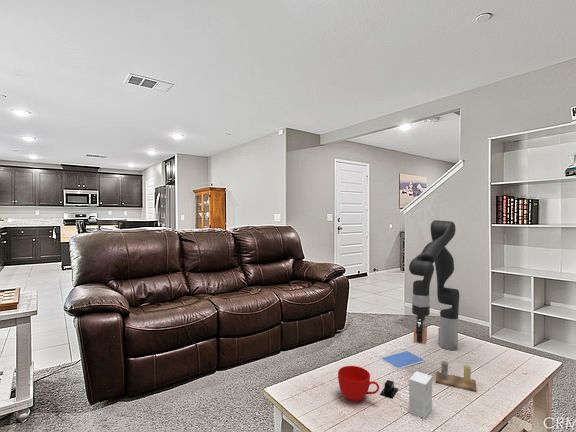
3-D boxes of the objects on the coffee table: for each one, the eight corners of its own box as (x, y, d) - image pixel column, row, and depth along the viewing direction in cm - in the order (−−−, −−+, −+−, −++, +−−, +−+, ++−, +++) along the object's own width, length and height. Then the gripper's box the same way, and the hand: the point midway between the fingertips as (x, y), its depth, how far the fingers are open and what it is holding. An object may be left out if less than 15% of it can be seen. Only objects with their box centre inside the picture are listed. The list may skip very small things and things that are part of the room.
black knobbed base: (385, 383, 146) (385, 373, 146) (402, 389, 142) (402, 378, 142) (376, 397, 136) (376, 386, 136) (393, 403, 132) (393, 392, 132)
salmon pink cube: (413, 342, 150) (413, 328, 150) (414, 338, 155) (415, 324, 154) (425, 344, 148) (426, 330, 147) (426, 340, 152) (427, 326, 152)
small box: (415, 402, 131) (416, 370, 131) (432, 408, 127) (432, 375, 127) (408, 412, 125) (408, 378, 125) (425, 419, 121) (426, 384, 121)
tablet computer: (397, 371, 158) (397, 368, 158) (379, 360, 169) (379, 357, 169) (425, 362, 167) (425, 360, 167) (406, 352, 178) (406, 350, 178)
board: (435, 382, 146) (435, 365, 146) (436, 373, 154) (436, 357, 154) (476, 392, 139) (476, 373, 139) (475, 382, 147) (475, 364, 147)
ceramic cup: (373, 414, 124) (374, 388, 124) (332, 400, 133) (332, 375, 133) (383, 397, 135) (383, 373, 135) (344, 385, 144) (345, 362, 144)
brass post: (463, 383, 144) (464, 367, 144) (463, 380, 146) (463, 365, 146) (470, 385, 143) (470, 369, 143) (470, 382, 145) (470, 366, 145)
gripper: (414, 298, 159) (413, 333, 159) (410, 306, 146) (409, 344, 146) (430, 300, 155) (430, 336, 156) (428, 309, 142) (427, 347, 143)
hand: (420, 340), depth 151 cm, fingers closed on salmon pink cube, 5 cm apart
